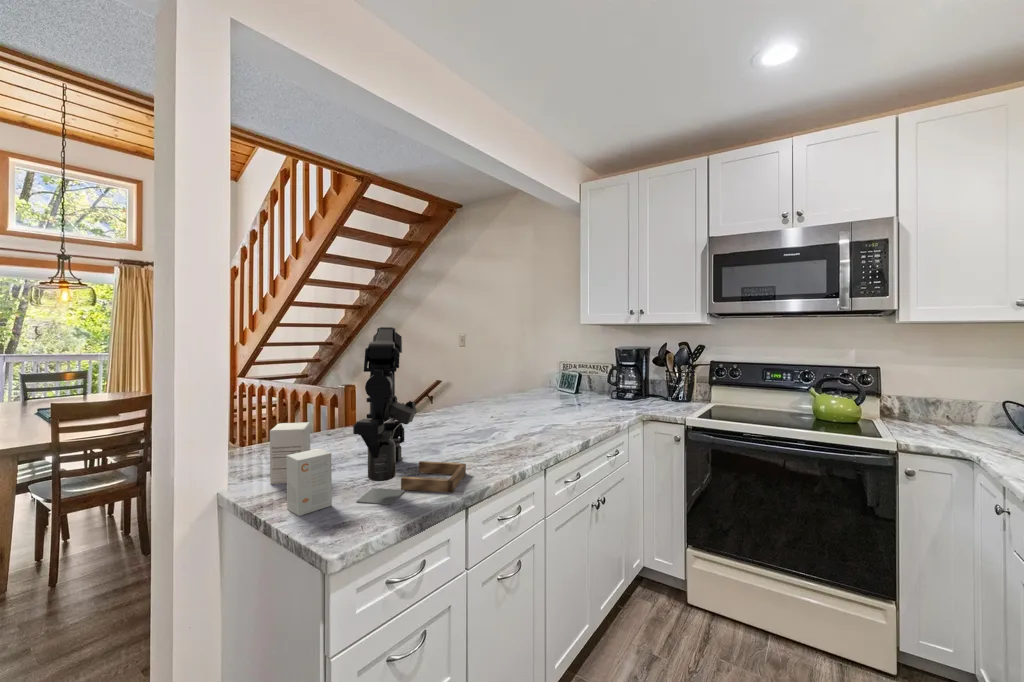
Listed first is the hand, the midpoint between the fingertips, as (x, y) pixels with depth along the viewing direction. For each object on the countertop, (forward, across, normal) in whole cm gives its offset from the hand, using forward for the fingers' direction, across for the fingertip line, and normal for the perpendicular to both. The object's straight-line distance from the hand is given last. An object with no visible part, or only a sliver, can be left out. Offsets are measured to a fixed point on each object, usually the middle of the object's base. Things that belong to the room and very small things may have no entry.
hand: (381, 454), depth 112 cm
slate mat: (+11, 0, 0) cm, 11 cm away
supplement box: (+11, +9, +31) cm, 34 cm away
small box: (+11, -9, +14) cm, 20 cm away
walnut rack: (+11, +13, -10) cm, 20 cm away
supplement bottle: (+6, 0, 0) cm, 6 cm away
